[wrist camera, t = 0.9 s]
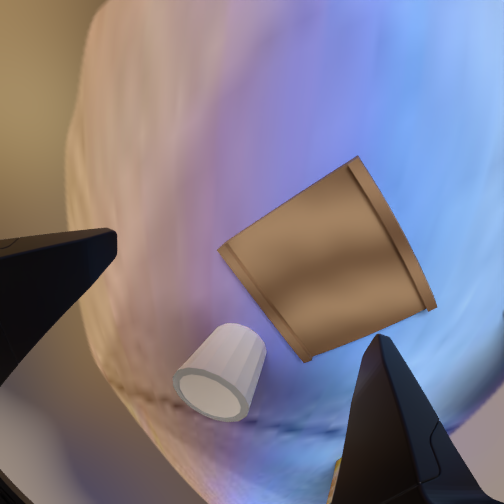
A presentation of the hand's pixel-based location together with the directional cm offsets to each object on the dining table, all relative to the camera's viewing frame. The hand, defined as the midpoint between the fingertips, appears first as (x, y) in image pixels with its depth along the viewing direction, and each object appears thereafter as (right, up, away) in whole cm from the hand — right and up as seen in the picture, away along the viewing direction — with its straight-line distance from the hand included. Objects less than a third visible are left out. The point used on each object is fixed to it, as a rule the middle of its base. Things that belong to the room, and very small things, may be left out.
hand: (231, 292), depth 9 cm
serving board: (+7, 0, +13) cm, 14 cm away
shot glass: (-1, -8, +19) cm, 21 cm away
